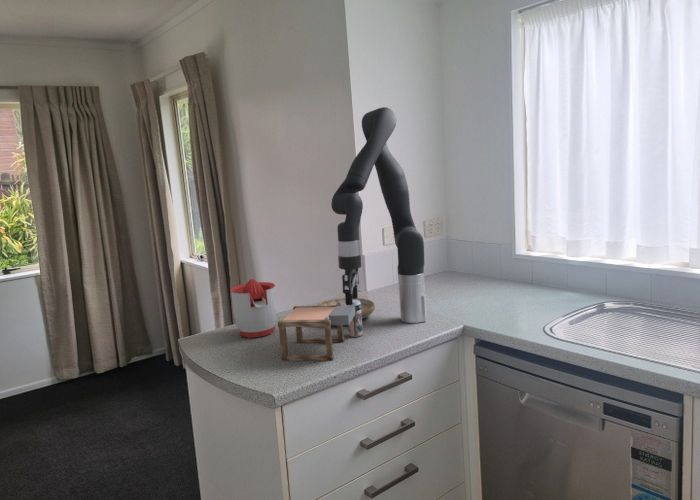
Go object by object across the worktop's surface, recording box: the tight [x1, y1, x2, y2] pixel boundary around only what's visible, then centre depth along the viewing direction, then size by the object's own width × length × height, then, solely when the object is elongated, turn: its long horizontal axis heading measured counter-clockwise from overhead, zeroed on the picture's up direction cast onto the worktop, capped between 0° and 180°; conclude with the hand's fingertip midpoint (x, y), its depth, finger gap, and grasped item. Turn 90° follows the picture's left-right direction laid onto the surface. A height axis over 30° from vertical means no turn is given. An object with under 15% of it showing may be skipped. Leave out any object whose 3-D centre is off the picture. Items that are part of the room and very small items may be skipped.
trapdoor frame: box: [277, 302, 345, 361], centre depth 174 cm, size 16×18×13 cm
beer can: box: [347, 299, 364, 338], centre depth 185 cm, size 5×5×12 cm
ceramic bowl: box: [315, 297, 376, 320], centre depth 208 cm, size 23×24×5 cm
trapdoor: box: [282, 305, 355, 326], centre depth 172 cm, size 20×14×3 cm
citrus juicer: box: [229, 278, 278, 339], centre depth 195 cm, size 16×17×20 cm
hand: (351, 301), depth 185 cm, fingers open, 8 cm apart
